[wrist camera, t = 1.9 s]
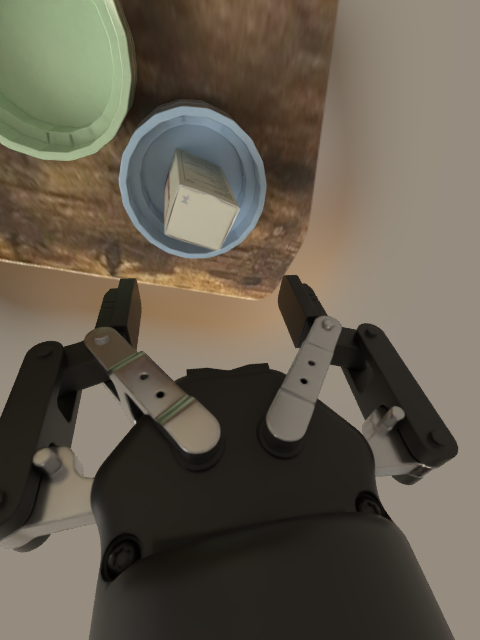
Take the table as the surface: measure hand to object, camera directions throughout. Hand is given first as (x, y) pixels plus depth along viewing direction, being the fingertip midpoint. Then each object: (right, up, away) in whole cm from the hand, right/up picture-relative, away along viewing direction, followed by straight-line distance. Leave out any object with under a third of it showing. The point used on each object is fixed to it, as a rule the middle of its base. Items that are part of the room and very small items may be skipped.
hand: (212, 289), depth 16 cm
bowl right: (-3, +13, +14) cm, 20 cm away
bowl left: (-13, +19, +6) cm, 24 cm away
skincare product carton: (-3, +13, +14) cm, 19 cm away
